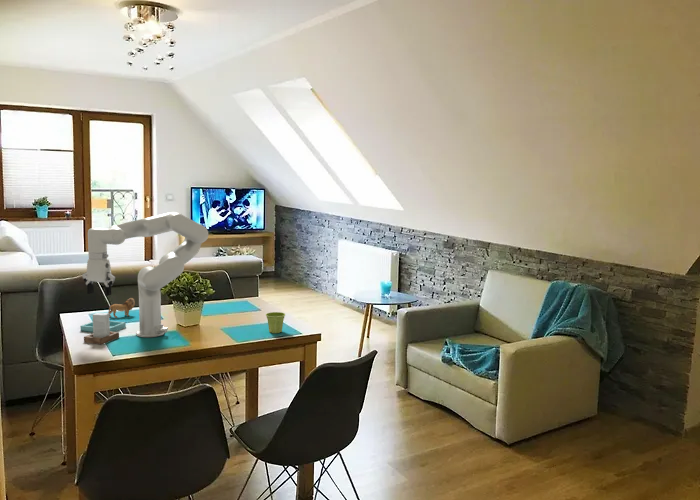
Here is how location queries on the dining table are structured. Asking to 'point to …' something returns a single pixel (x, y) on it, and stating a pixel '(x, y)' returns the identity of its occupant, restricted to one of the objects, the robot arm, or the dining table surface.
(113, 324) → the tray
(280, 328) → the plant pot
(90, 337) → the holder collar
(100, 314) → the skincare box
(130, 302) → the lion figurine
